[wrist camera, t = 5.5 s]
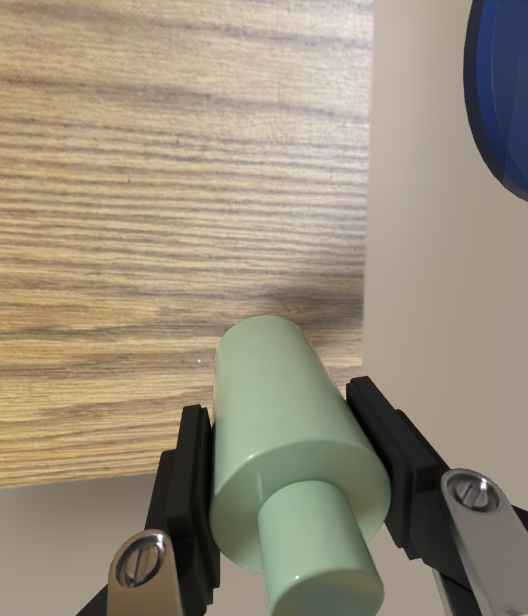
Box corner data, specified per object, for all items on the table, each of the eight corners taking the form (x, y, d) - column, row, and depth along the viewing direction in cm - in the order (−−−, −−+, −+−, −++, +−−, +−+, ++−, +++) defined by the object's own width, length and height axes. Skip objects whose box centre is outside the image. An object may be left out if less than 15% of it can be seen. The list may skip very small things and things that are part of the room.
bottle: (309, 307, 15) (455, 498, 6) (314, 393, 17) (433, 649, 7) (206, 322, 15) (180, 554, 5) (222, 408, 16) (224, 700, 7)
